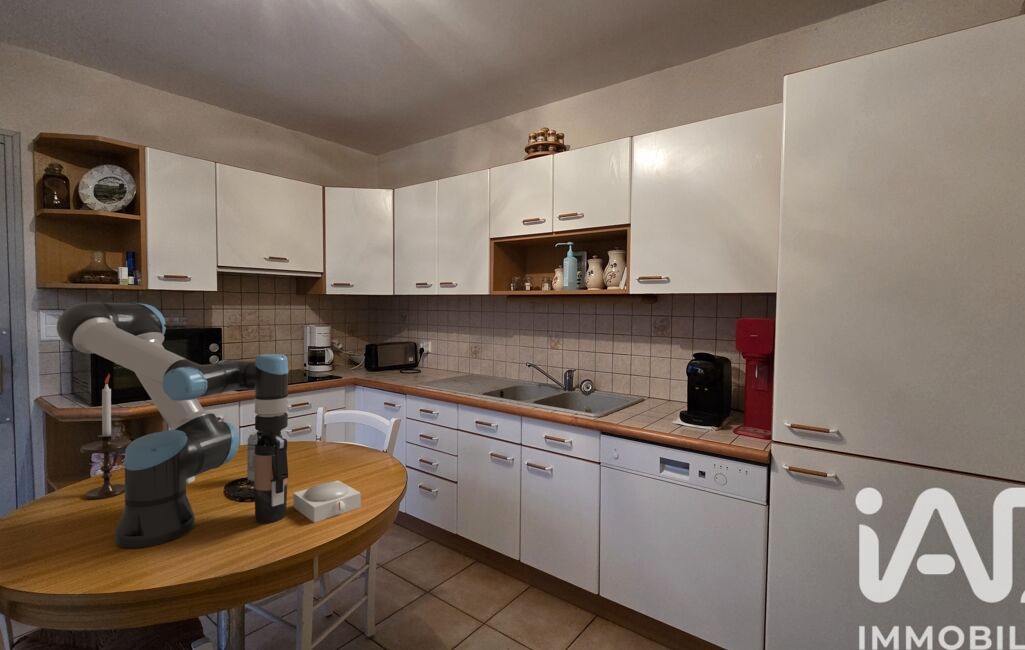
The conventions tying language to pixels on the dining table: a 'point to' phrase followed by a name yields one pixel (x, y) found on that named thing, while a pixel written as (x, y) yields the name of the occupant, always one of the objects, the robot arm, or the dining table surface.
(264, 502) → the travel mug
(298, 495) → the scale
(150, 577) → the dining table surface
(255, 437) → the energy drink can
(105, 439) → the candlestick
